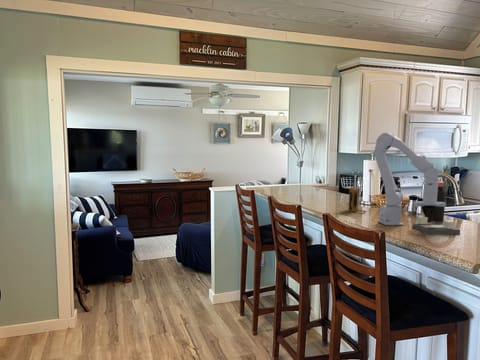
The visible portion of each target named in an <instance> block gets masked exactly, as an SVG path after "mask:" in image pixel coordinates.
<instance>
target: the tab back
mask: <svg viewBox="0 0 480 360" xmlns="http://www.w3.org/2000/svg"><path fill="white" fill-rule="evenodd" d="M427 220H428V217H425V215H418V216H417V220H416V221H417V222H416V223H420V224H427V223H428V222H427Z"/></svg>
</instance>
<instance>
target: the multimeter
mask: <svg viewBox="0 0 480 360" xmlns="http://www.w3.org/2000/svg"><path fill="white" fill-rule="evenodd" d="M352 182H353V185H352ZM356 183H357V185H359V183H358V179H357V177H354V176H352V179H351V183H350V187H349V194H348V195H349V197H348V199H349V200H348V203H347V205H348V207H347V209H348V211H350V212H351V213H358V212H359V211H360V212H359V214H360V215H362V214H365V213H366V212H367V213H369V211H366V210H363V209H362V210H361V209H359V205H358V204H359V199H360V198H359V197H360V189H359V187H357V188H356Z"/></svg>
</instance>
